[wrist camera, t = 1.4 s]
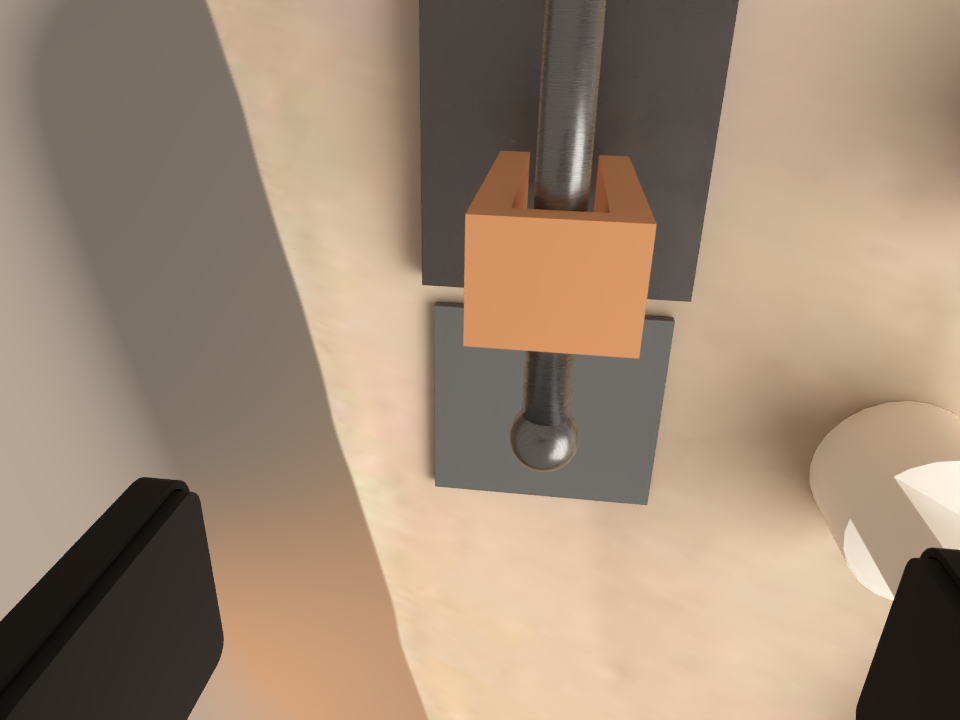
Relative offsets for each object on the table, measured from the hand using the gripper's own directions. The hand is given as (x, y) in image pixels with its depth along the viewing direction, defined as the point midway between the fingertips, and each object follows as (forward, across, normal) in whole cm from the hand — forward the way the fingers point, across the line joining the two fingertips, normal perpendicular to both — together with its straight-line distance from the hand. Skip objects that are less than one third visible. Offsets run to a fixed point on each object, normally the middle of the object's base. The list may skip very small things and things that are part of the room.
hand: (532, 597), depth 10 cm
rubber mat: (+30, 0, +13) cm, 33 cm away
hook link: (+23, 0, 0) cm, 23 cm away
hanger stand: (+30, 0, -4) cm, 30 cm away
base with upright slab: (+30, -20, +16) cm, 40 cm away
